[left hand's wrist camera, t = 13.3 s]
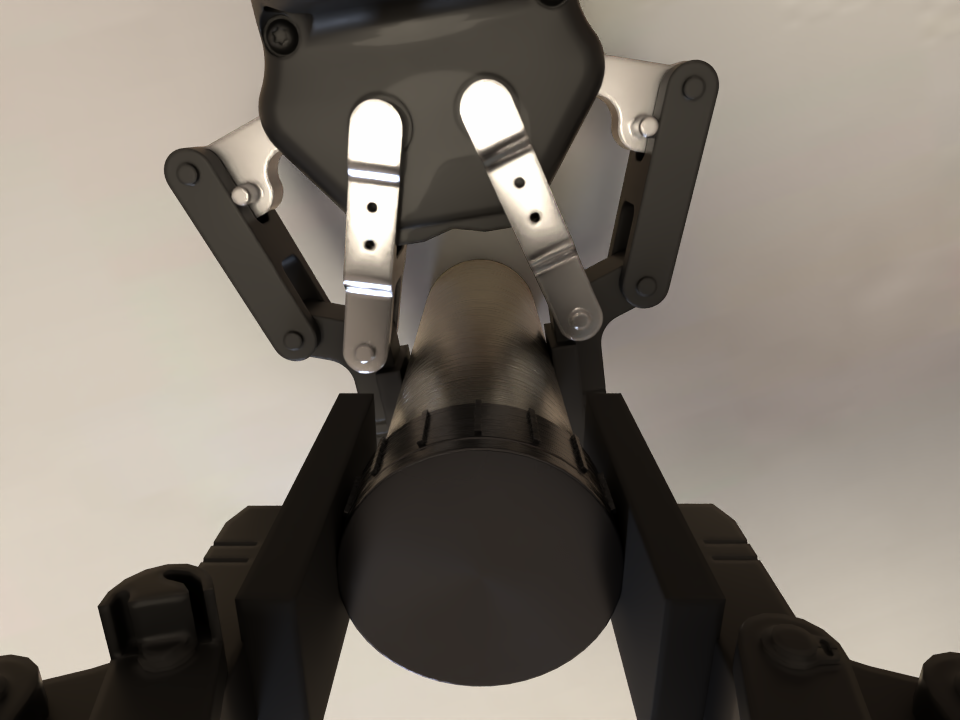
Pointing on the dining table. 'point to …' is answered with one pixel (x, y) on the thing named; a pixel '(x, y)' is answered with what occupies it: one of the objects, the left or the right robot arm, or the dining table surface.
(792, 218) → the dining table surface
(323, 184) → the right robot arm
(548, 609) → the lid
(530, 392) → the grey metal cylinder
